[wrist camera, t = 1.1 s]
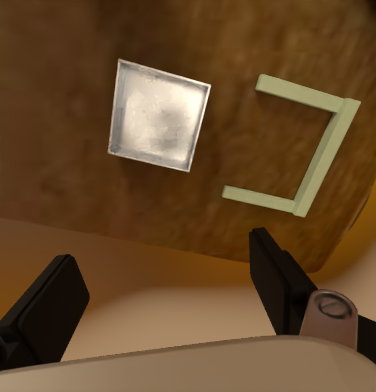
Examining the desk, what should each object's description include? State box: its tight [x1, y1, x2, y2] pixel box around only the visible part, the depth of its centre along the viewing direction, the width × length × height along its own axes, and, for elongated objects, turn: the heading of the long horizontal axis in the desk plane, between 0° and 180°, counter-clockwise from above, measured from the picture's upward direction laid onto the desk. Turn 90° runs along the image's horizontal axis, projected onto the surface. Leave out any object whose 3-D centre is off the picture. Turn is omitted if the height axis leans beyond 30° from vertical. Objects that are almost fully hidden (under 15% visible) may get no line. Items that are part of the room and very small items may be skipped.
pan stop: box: [221, 74, 361, 217], centre depth 33 cm, size 19×15×2 cm
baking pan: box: [108, 59, 211, 172], centre depth 30 cm, size 12×12×4 cm
